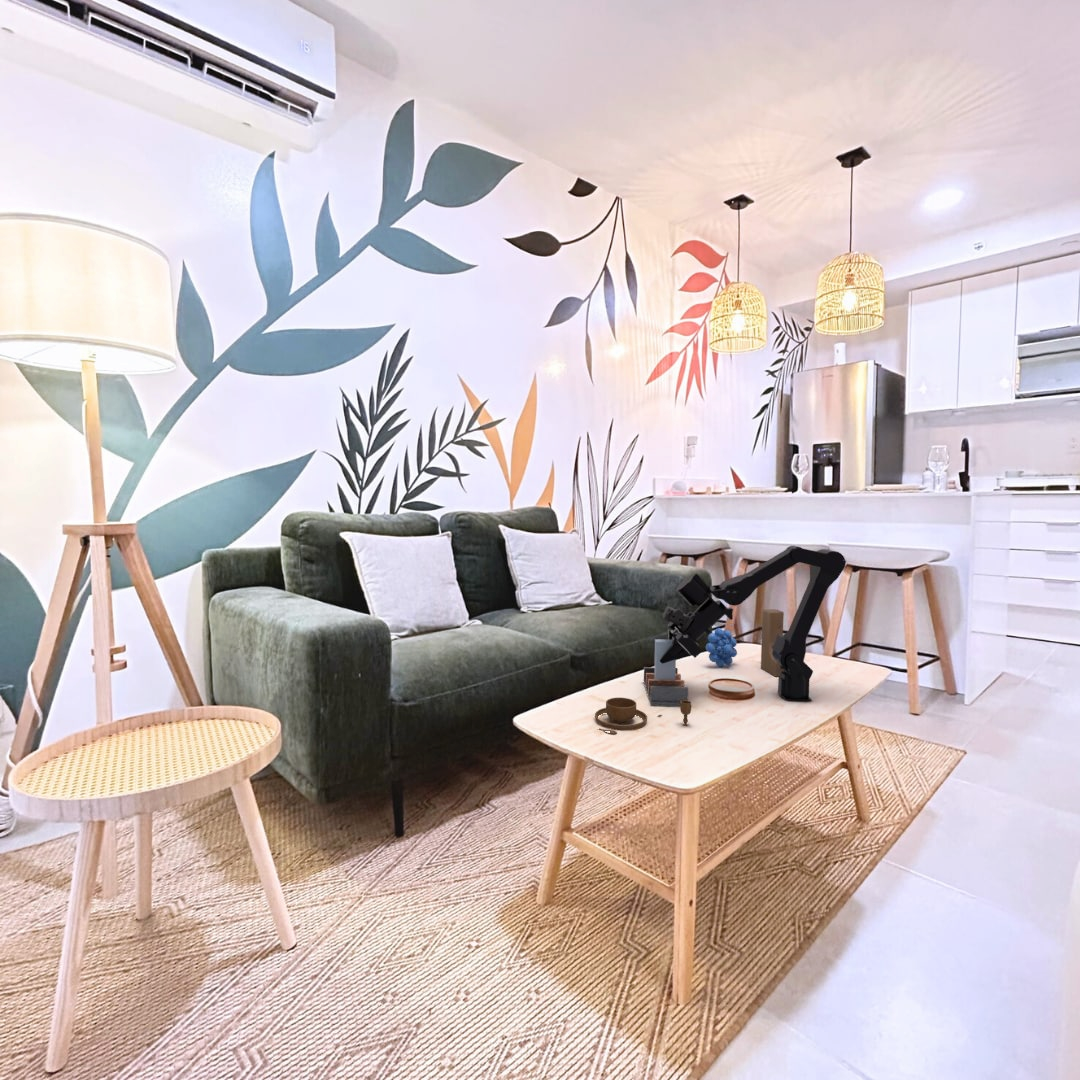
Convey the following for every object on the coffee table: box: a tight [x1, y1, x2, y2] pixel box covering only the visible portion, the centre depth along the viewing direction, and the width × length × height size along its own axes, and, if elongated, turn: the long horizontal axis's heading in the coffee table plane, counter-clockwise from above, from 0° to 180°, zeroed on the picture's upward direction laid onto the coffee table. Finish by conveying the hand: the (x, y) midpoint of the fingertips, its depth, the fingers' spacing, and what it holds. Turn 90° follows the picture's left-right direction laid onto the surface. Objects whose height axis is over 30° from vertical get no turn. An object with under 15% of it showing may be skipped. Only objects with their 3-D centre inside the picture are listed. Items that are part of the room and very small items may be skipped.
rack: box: [642, 666, 689, 708], centre depth 158 cm, size 9×19×4 cm, turn 176°
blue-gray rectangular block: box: [653, 638, 677, 680], centre depth 157 cm, size 5×3×13 cm, turn 87°
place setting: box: [594, 697, 692, 735], centre depth 136 cm, size 18×20×6 cm
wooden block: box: [760, 608, 784, 678], centre depth 176 cm, size 9×4×18 cm, turn 8°
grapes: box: [705, 627, 738, 668], centre depth 182 cm, size 12×7×12 cm, turn 115°
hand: (659, 659), depth 157 cm, fingers open, 4 cm apart
